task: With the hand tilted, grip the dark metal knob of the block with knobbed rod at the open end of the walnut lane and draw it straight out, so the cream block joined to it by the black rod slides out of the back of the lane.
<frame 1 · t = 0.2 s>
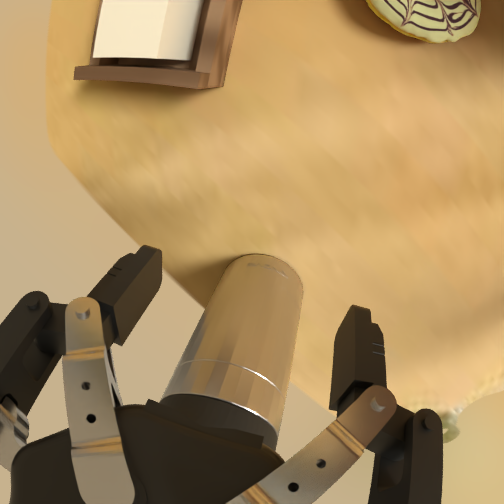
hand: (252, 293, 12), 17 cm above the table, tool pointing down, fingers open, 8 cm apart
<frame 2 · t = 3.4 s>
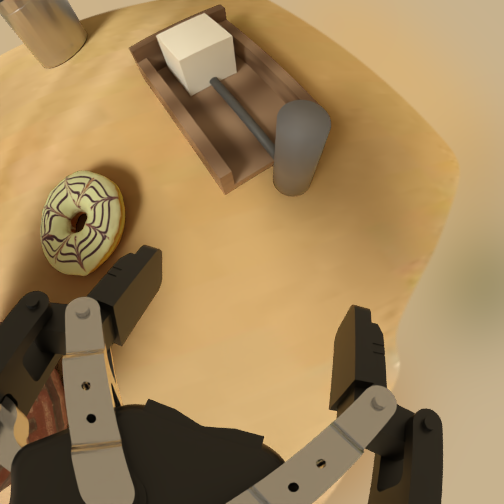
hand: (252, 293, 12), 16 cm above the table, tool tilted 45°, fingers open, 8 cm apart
decorated donut: (89, 227, 30), on the table
pottery: (30, 387, 27), on the table
walnut lane: (224, 99, 32), on the table
block with knobbed rod: (234, 82, 25), point 6 cm above the table, slide at 0.0 cm
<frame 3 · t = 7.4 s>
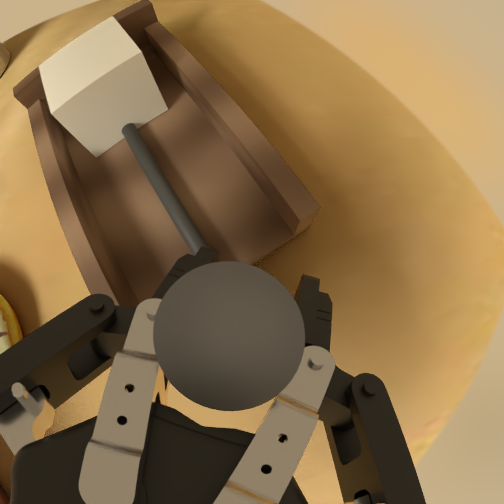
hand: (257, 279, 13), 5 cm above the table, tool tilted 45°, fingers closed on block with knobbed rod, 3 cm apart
walnut lane: (147, 159, 20), on the table
block with knobbed rod: (133, 150, 13), point 6 cm above the table, slide at 0.0 cm, touching gripper
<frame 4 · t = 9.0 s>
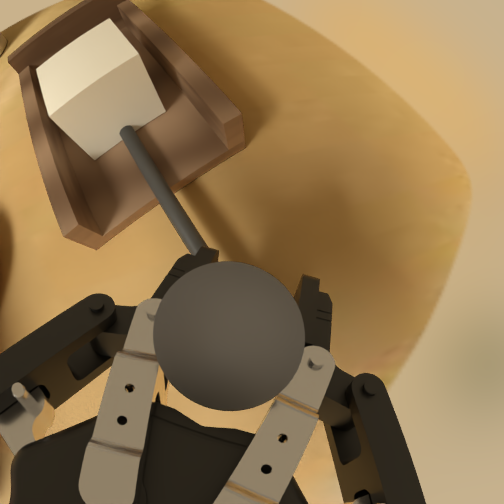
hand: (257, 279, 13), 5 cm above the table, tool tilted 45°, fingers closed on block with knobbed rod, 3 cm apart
walnut lane: (113, 106, 21), on the table
block with knobbed rod: (131, 152, 13), point 6 cm above the table, slide at 6.7 cm, touching gripper
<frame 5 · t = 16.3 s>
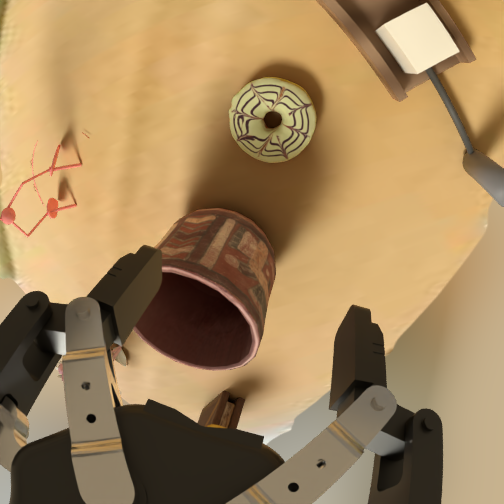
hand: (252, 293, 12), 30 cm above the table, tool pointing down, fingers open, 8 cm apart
decorated donut: (274, 117, 37), on the table
pottery: (227, 243, 49), on the table
book: (223, 404, 80), on the table
walnut lane: (382, 10, 25), on the table
figurine: (55, 171, 49), on the table
block with knobbed rod: (459, 104, 24), point 6 cm above the table, slide at 9.9 cm
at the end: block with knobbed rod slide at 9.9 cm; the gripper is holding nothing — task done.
